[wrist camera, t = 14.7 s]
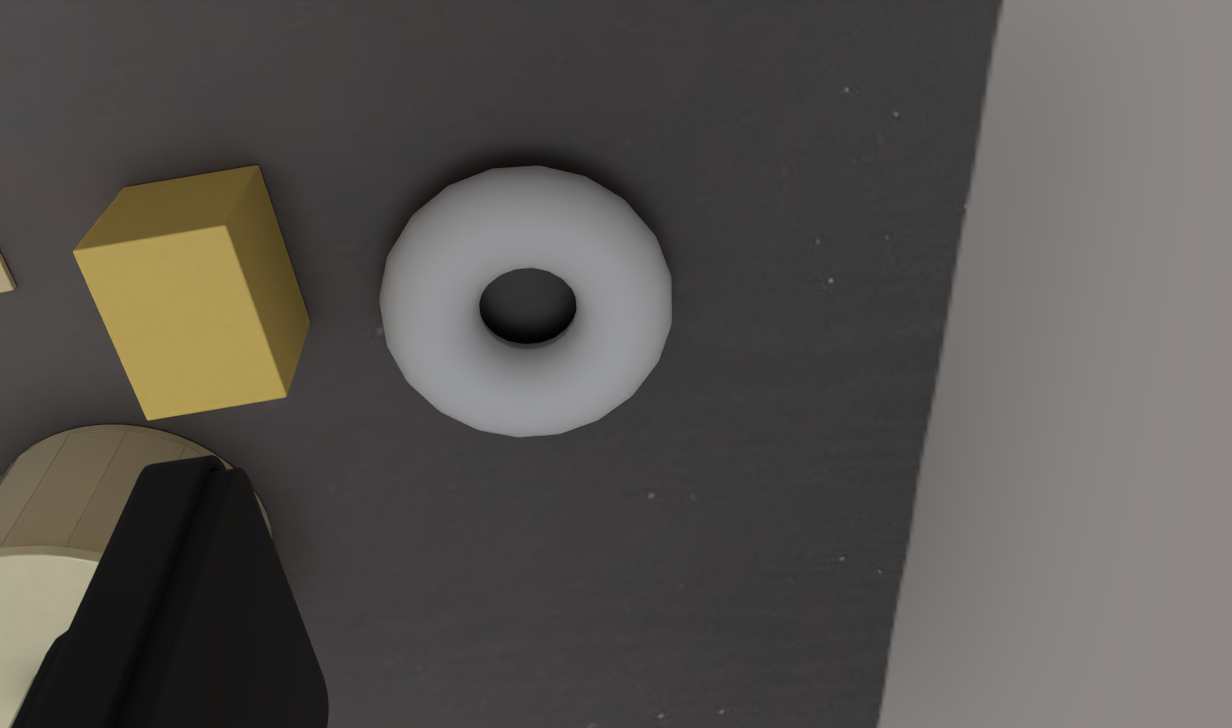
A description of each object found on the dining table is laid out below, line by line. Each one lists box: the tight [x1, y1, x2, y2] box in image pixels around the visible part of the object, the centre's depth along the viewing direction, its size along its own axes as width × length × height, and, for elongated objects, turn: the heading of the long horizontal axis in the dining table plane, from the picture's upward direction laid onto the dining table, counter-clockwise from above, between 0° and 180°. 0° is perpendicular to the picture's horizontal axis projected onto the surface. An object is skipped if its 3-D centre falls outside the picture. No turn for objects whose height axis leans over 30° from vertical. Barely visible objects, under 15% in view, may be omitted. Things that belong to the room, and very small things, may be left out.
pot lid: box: [0, 545, 103, 728], centre depth 35 cm, size 11×11×5 cm
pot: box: [0, 425, 273, 553], centre depth 40 cm, size 10×10×7 cm
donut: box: [379, 165, 672, 437], centre depth 38 cm, size 10×4×10 cm
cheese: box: [73, 165, 310, 420], centre depth 35 cm, size 6×4×5 cm
